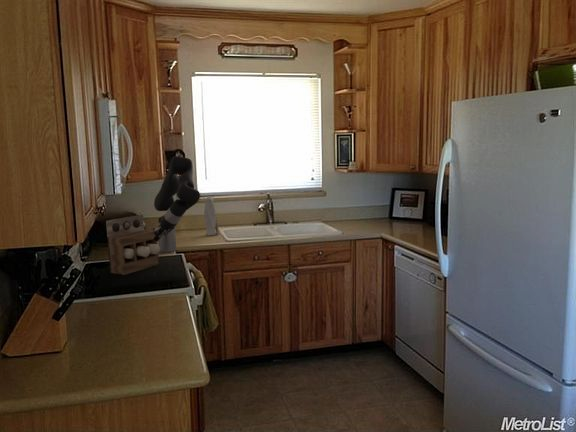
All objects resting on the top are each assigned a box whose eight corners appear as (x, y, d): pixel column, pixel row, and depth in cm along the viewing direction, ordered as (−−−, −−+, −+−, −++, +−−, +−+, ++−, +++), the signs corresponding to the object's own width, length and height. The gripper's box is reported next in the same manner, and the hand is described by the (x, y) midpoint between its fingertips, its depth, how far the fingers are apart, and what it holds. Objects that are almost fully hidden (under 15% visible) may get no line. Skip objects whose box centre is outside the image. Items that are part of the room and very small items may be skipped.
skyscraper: (208, 236, 339) (205, 195, 335) (203, 235, 346) (201, 194, 342) (219, 235, 344) (217, 194, 340) (214, 233, 350) (212, 194, 346)
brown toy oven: (110, 272, 247) (105, 220, 243) (145, 262, 266) (141, 214, 262) (123, 274, 241) (119, 221, 238) (158, 264, 261) (155, 215, 257)
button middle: (132, 256, 249) (132, 246, 249) (140, 254, 254) (139, 244, 253) (142, 257, 246) (142, 247, 245) (150, 255, 250) (149, 245, 249)
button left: (116, 258, 246) (116, 248, 245) (124, 256, 250) (124, 246, 249) (126, 259, 242) (125, 249, 242) (134, 257, 246) (133, 247, 246)
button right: (143, 253, 255) (142, 244, 254) (150, 251, 259) (149, 242, 258) (152, 255, 251) (152, 245, 251) (160, 253, 256) (159, 243, 255)
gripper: (177, 209, 246) (161, 232, 254) (157, 213, 235) (141, 236, 243) (185, 221, 244) (169, 243, 252) (166, 225, 233) (149, 248, 241)
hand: (155, 240), depth 248 cm, fingers closed
